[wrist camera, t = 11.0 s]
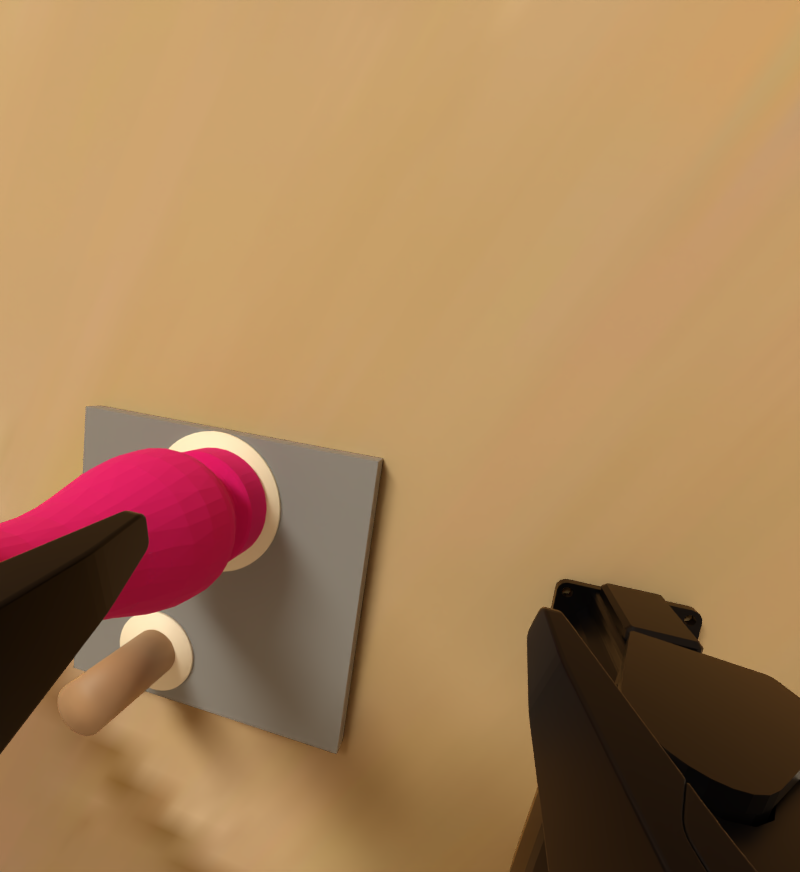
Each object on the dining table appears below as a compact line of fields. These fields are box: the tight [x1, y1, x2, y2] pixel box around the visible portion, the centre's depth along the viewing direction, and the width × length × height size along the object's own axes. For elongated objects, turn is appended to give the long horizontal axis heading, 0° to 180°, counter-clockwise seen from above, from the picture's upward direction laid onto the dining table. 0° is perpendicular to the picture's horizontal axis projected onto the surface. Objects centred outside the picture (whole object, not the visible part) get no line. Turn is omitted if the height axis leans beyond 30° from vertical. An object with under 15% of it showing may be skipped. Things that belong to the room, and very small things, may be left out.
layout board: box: [58, 406, 383, 754], centre depth 23 cm, size 17×18×6 cm
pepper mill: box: [0, 447, 267, 620], centre depth 14 cm, size 7×7×20 cm
